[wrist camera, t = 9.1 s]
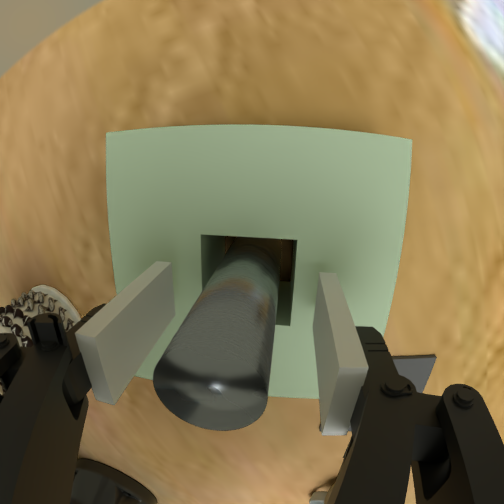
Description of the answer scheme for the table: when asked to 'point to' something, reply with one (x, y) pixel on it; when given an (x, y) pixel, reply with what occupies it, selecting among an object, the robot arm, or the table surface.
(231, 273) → the pin
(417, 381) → the mat
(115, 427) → the table surface
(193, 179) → the socket block
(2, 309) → the decorative candle
